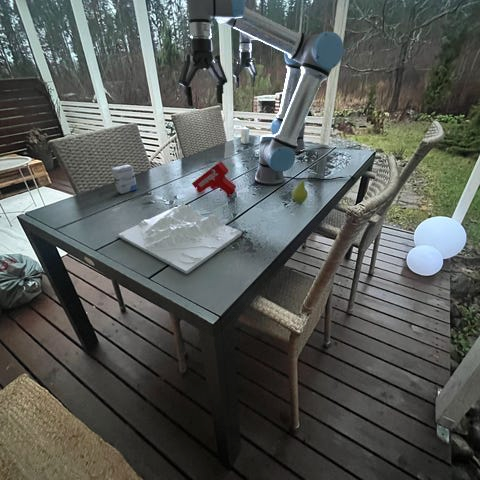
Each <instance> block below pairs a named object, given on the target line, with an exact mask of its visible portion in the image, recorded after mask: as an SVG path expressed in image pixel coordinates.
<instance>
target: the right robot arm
mask: <svg viewBox="0 0 480 480" xmlns="http://www.w3.org/2000/svg"><path fill="white" fill-rule="evenodd" d="M255 40H257V41H259V40H258V39H256V38H254V37H252V36H250V35H248V34H245V33H243V32H241V31H239V51H240V52H239V58H240V59H236V60H235V66H234V70H233V72H232V76H233V77H234V80H235V88H237V89H240V77H239V76H240V74H241V72H242V71H243V69H247V70H248V71H249V73H250V74H251V77H250V87H251V88H255V82H256V77H257V76H258V70H257V68H256V64H255V59H252V41H255ZM283 58H284V61H285V63H286V64H285V68H286V69H287V73H286V76H285V77H286V78H285V82H284V87H283V92H282V96H281V102H280V107H279V112H278V113H277V114H275V119H274V120H272V122H271V123H270V131H271V135H275V134H277V133H279V130H280V128H281V125H282V123H283V120H284V118H285V115H286V113H287V111H288V108H289V106H290V103H291V101H292V98H293V96H294V93H295V91H296V88H297V86H298V83H299V81H300V78H301V76H302V70H301V66H302V64H300V63H299V62H297V61H295V60H293V59H291V58H289V56H288V54H287V53H285V52H283ZM306 119H307V118H306ZM306 119H305V121H304V124H303V126H302V128H301V130H300V133H299V135H298V137H297V140H296V142H297V145H298V146H297V148H296V150H295V152H294V153H303V152H305V151H306V148H305V147H308V145H307V146H306V145H305V141H304V138H305V129H306V123H307V122H306ZM346 147H347V148H346V149H353V148H357V147H359V148H362V146H361V145H360V144H357V145H353V146H352V145H351V146H346ZM303 149H305V150H303ZM300 150H303V151H300Z"/></svg>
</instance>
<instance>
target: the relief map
mask: <svg viewBox="0 0 480 480" xmlns="http://www.w3.org/2000/svg"><path fill="white" fill-rule="evenodd" d="M242 235H243V231H242V230H239V229H238V228H234V227H231V226H229V225H226V224H224V223H223V222H222V221H221V220H220V219H219V218H218V216H216V215H214V214H212V215H210V216H207V217H205V216H204V215H203V214H199V213H198V212H197V211H196V209H195V208H194V207H193V206H192V205H191V204H187V205H186V204H185V202H182V204H180V205H179V206H174V207H171V208H170V209H168V210H165V211H163V212H161V213H159V214H157V215H154V216H153V217H150V218H149V219H143V220H141V221H140V222H139V223H138V224H137V225H134V226H132V227H129V228H128V229H126V230H123V231H122V232H120V233H117V236H118V238H120V239H121V240H123V241H125V242H127V243H129V244H131V245H132V246H134V247H136V248H138V249H140V250H141V251H143V252H145V253H147V254H149V255H151V256H153V257H154V258H156V259H158V260H160V261H162V262H163V263H165V264H166V265H169V266H171V267H173V268H175V269H176V270H178V271H180V272H182V273H183V274H185V275H188V274H190V273H191V272H192V271H193V270H195V269H196V268H198V267H199V266H201V265H202V264H203V263H205V262H206V261H208V260H209V259H211V258H212V257H214V256H215V255H216V254H217V253H219V252H220V251H222V250H223V249H224V248H226V247H227V246H229V245H230V244H231V243H233V242H235V241H236V240H237V239H238V238H240V237H241V236H242Z"/></svg>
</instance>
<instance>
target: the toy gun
mask: <svg viewBox="0 0 480 480" xmlns="http://www.w3.org/2000/svg"><path fill="white" fill-rule="evenodd" d="M228 173H229V169H228V168H227V166H226V165H225V164H224V163H223V162H222V161H219V162H217V163H216V164H214V166H212V167H211V168H210V169H209V170H207V171H206V172H204V173H203V174H202V175H201V176H199V177H198V178H197V179H196V180H194V181H193V182H192V183H191V184H192V186H193V187H194V189H195V190H196V191H197V193H199V194H201V193H203V192H204V191H205V190H207V189H208V188H210V189H211V190H213V191H215V190H216V189H218V188H219V189H220V190H222V191H223V192H224V193H225V194H226V196H227V197H229V196H230V195H233V194H235V192H236V188H237V186H236V184H235V183H233V182H232V181H230V180H229V179H228V178H227V177H226V175H227V174H228Z"/></svg>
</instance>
